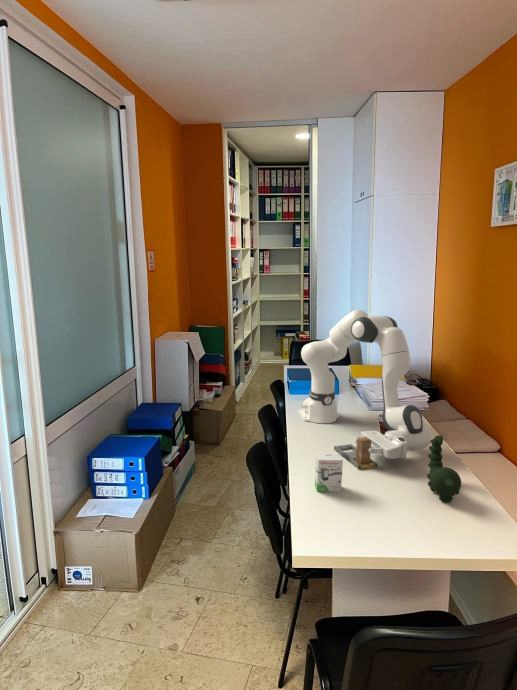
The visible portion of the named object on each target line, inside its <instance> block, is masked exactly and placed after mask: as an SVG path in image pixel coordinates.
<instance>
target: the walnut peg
mask: <svg viewBox="0 0 517 690" xmlns="http://www.w3.org/2000/svg"><path fill="white" fill-rule="evenodd" d="M356 439H357V443H355V444H356V446H355V447H356V462H357V463H359V464H360V465H361V464H368V463H370V458H371V454H372V453H369V452H368V448H371V440H370V439H369V438H367V437H361V436H359V437H356Z"/></svg>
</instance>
